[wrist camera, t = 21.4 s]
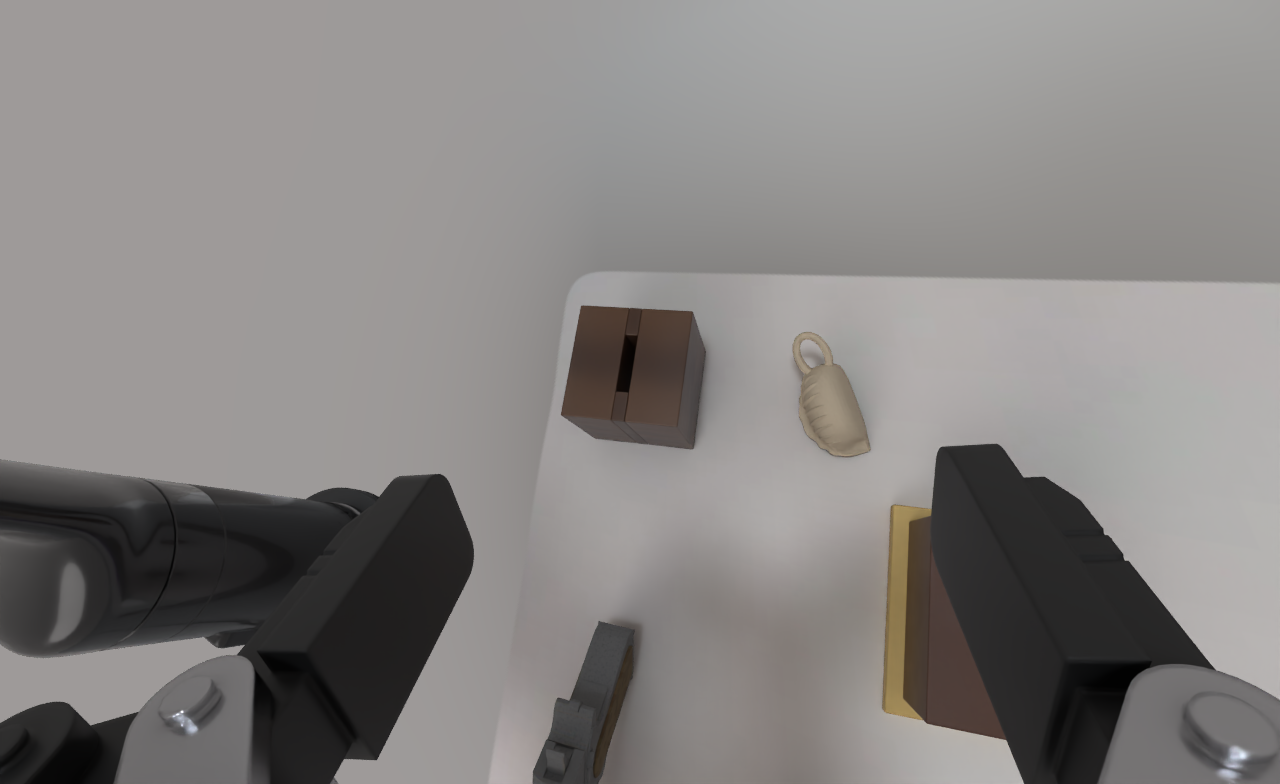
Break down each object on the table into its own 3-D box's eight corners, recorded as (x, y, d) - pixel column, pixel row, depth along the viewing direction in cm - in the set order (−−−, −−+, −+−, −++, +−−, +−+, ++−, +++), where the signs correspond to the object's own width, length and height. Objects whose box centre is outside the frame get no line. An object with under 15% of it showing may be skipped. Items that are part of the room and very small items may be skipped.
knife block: (693, 449, 45) (677, 427, 37) (594, 438, 47) (560, 415, 39) (706, 350, 47) (693, 311, 39) (610, 344, 49) (580, 305, 41)
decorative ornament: (814, 465, 43) (819, 453, 38) (784, 360, 45) (785, 335, 40) (871, 453, 42) (884, 438, 37) (837, 347, 45) (845, 320, 40)
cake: (1078, 749, 35) (1172, 806, 27) (882, 709, 38) (912, 750, 30) (1071, 528, 38) (1153, 519, 30) (890, 505, 41) (920, 491, 33)
